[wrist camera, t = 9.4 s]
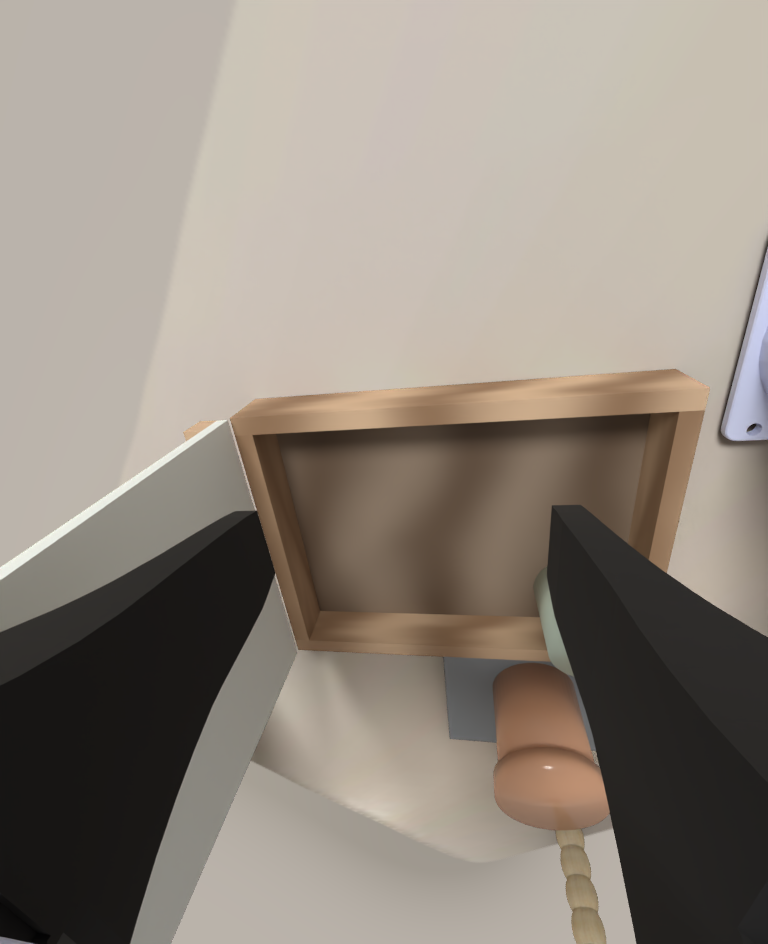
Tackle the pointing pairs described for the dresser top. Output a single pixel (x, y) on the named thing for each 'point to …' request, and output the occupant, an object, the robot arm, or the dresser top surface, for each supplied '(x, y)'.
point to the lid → (250, 679)
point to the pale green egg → (550, 624)
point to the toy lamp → (580, 888)
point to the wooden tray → (457, 501)
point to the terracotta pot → (544, 751)
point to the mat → (482, 697)
